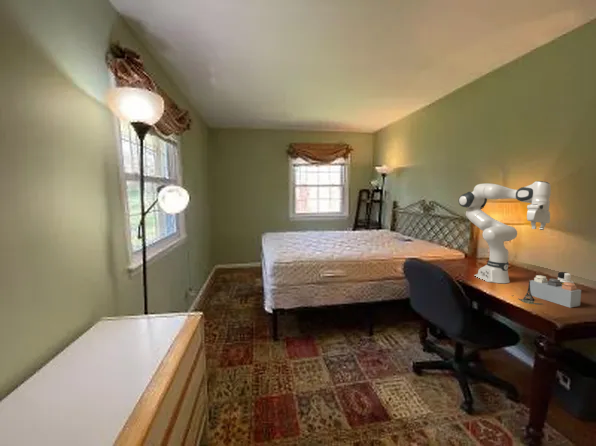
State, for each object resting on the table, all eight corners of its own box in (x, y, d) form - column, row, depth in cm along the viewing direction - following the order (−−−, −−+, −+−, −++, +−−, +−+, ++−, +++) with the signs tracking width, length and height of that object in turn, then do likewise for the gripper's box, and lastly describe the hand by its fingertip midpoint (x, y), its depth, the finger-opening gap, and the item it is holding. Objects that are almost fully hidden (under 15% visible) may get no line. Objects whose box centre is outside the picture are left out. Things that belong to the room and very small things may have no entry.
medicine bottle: (553, 290, 195) (554, 272, 193) (559, 288, 197) (561, 270, 196) (566, 293, 188) (567, 274, 187) (573, 292, 191) (574, 273, 189)
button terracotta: (560, 295, 172) (561, 282, 171) (566, 294, 173) (567, 281, 173) (570, 298, 167) (571, 285, 167) (576, 297, 169) (577, 284, 168)
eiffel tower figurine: (510, 296, 187) (511, 275, 186) (527, 296, 187) (528, 274, 185) (527, 305, 172) (528, 282, 171) (545, 305, 172) (547, 282, 170)
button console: (529, 294, 187) (529, 280, 186) (538, 293, 190) (539, 279, 189) (570, 307, 166) (571, 291, 165) (580, 305, 169) (581, 289, 168)
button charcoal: (546, 291, 179) (547, 279, 178) (552, 290, 180) (553, 278, 180) (555, 294, 175) (556, 281, 174) (561, 293, 176) (562, 280, 175)
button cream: (533, 287, 186) (533, 275, 185) (538, 287, 188) (539, 274, 187) (541, 290, 182) (542, 277, 181) (547, 289, 183) (548, 276, 182)
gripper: (542, 208, 196) (540, 230, 196) (525, 205, 186) (523, 228, 186) (554, 208, 190) (552, 230, 190) (537, 205, 180) (535, 228, 181)
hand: (537, 229), depth 188 cm, fingers open, 8 cm apart
